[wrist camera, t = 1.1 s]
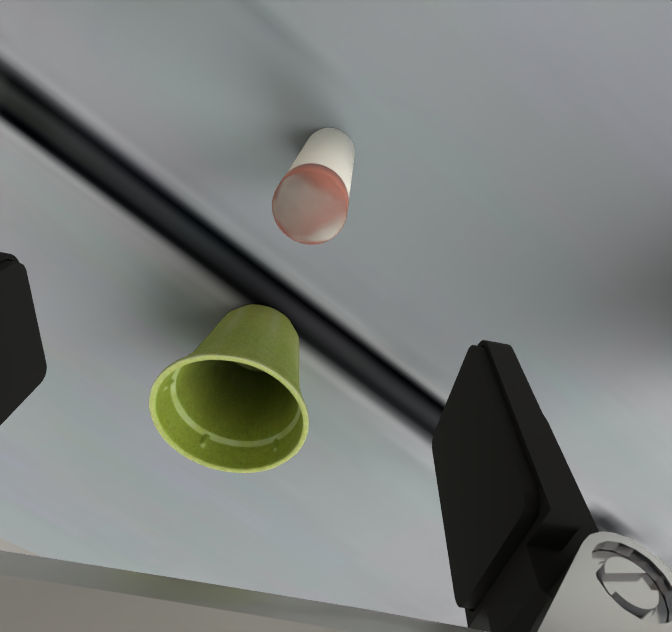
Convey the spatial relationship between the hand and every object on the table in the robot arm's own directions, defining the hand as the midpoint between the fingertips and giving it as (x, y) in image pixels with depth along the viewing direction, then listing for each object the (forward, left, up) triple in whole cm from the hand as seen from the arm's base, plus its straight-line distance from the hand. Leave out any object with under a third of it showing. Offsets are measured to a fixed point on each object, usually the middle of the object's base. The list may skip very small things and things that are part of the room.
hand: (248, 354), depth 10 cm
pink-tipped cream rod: (0, 0, -20) cm, 20 cm away
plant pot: (+3, +14, -20) cm, 25 cm away
